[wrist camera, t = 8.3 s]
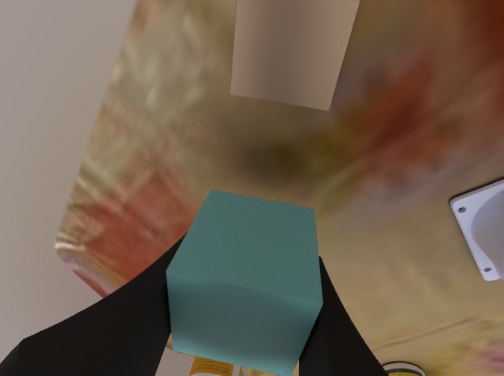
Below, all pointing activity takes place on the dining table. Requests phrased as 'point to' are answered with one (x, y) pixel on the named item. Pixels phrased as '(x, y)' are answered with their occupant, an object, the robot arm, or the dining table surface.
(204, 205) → the teal block
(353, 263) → the dining table surface
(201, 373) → the supplement bottle
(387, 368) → the supplement bottle
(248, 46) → the tan cube
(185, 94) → the dining table surface
